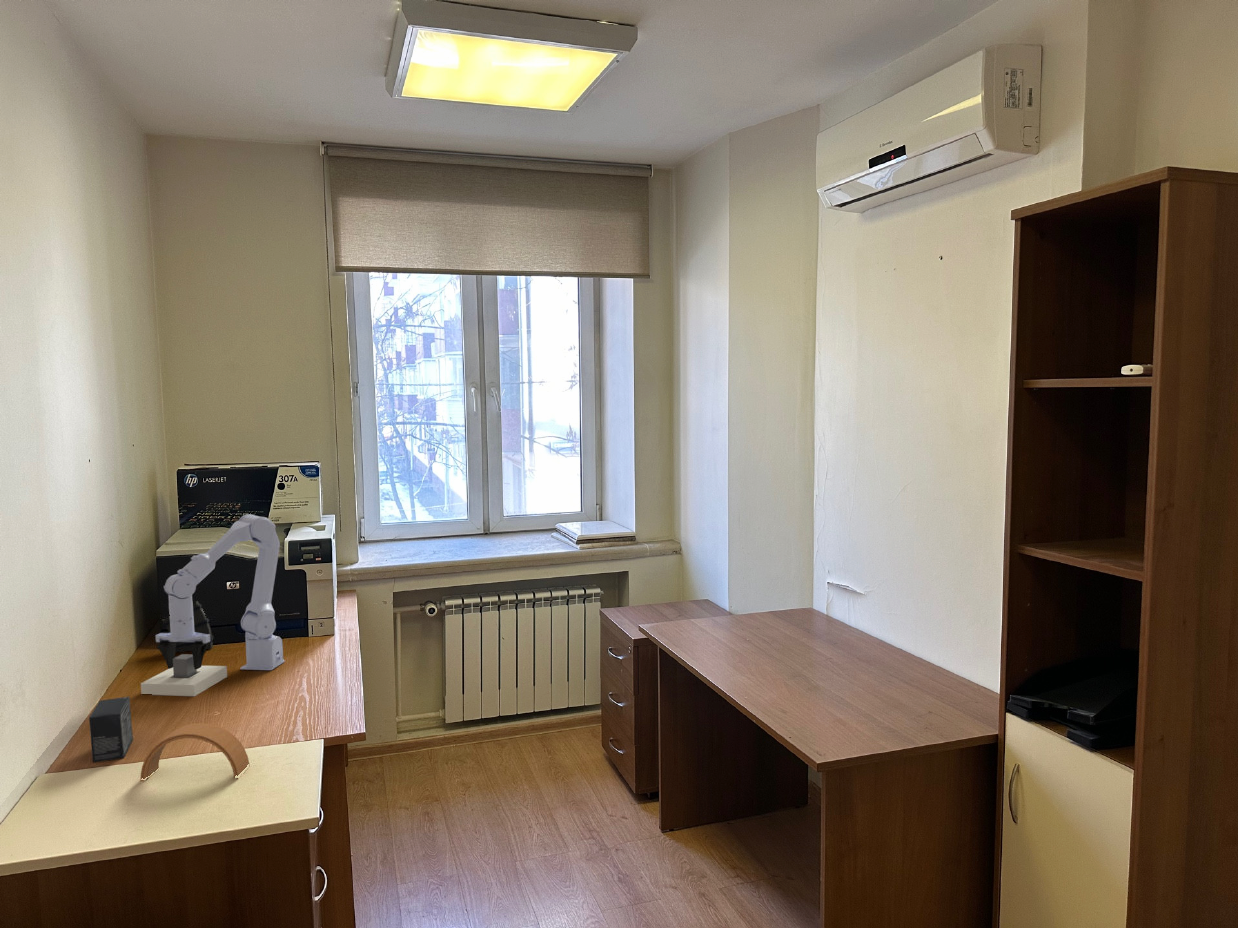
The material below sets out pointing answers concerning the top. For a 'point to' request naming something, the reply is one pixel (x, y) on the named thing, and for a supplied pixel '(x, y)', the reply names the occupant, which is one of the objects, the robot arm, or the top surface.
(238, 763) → the brown half-ring arch
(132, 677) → the top surface
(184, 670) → the plug
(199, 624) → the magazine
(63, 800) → the top surface
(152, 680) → the socket
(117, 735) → the small box
